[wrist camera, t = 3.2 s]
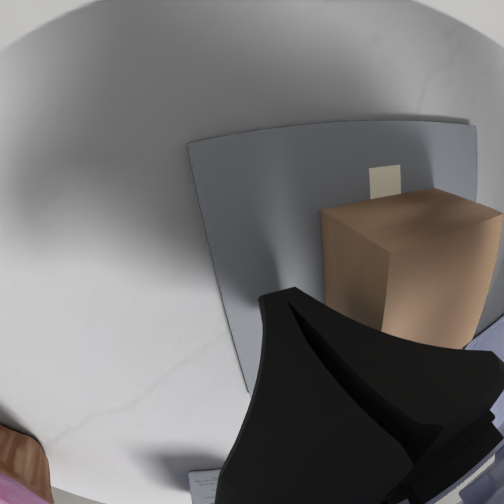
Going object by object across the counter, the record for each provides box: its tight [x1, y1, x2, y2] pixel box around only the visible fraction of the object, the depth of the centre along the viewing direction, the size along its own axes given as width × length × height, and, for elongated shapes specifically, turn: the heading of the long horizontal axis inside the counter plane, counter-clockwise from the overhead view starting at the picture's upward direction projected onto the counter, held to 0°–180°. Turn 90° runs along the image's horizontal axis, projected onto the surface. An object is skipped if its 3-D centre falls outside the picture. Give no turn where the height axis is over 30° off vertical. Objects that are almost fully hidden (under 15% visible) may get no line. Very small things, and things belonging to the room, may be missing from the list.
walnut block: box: [320, 188, 504, 349], centre depth 9 cm, size 6×6×4 cm
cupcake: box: [0, 425, 54, 504], centre depth 8 cm, size 9×9×10 cm
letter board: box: [187, 120, 477, 398], centre depth 11 cm, size 14×12×1 cm
